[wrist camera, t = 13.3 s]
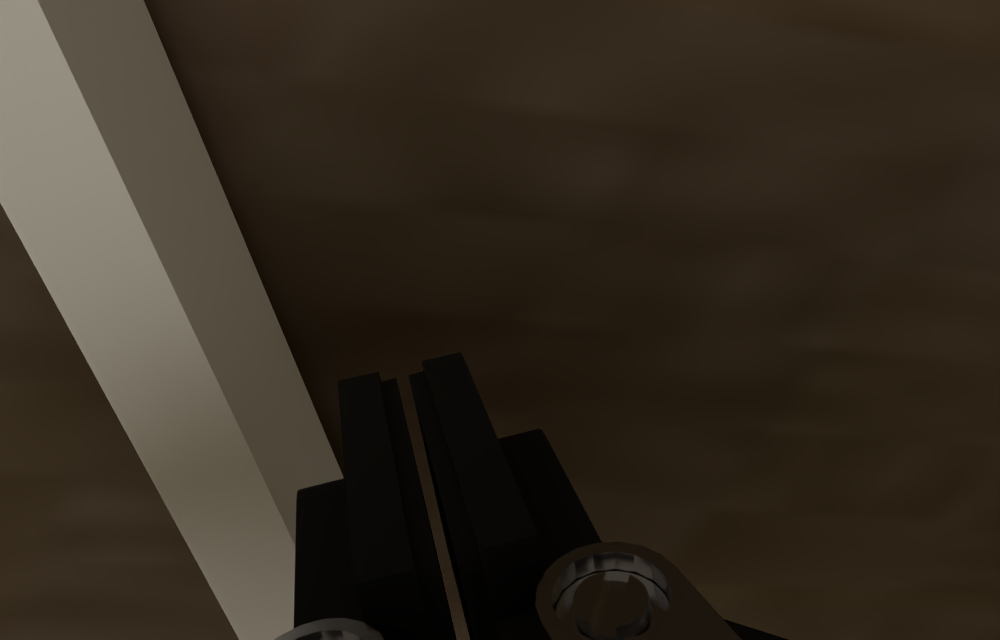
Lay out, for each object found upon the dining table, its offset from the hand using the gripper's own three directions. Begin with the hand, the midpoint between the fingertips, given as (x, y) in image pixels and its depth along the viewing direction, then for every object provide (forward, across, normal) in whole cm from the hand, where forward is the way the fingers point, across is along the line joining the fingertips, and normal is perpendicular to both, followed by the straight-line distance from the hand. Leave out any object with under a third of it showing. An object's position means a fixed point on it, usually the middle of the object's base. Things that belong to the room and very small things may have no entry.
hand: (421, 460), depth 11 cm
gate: (+7, +3, -1) cm, 8 cm away
